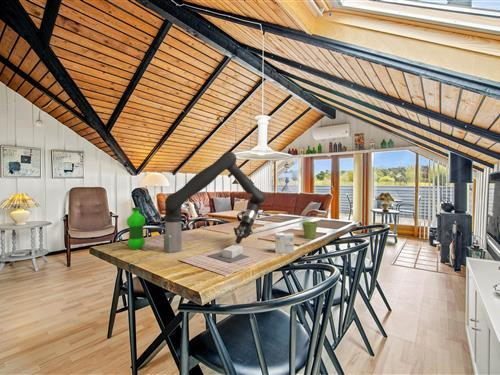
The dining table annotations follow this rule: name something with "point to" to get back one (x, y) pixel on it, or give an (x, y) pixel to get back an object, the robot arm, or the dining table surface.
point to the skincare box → (232, 251)
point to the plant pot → (309, 229)
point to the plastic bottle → (136, 229)
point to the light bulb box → (284, 243)
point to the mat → (230, 260)
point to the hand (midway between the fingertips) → (237, 243)
